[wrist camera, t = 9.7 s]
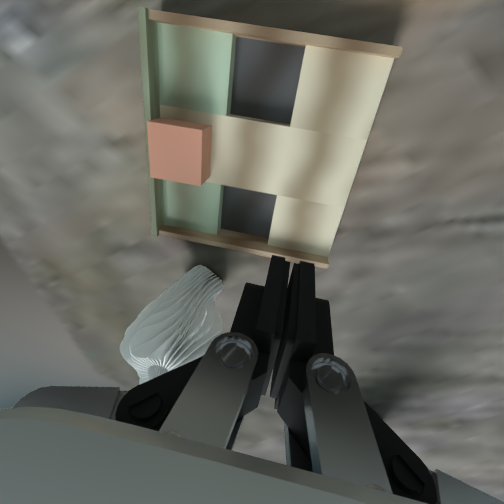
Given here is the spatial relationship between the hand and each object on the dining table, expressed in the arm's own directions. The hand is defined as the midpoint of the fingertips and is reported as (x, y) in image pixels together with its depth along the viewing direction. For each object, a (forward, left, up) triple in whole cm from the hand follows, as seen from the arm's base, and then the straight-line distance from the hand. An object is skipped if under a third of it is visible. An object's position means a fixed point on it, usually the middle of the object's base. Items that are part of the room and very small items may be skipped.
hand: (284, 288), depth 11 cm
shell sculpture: (+9, +18, -21) cm, 29 cm away
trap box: (+4, 0, -21) cm, 22 cm away
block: (+11, 0, -19) cm, 22 cm away
